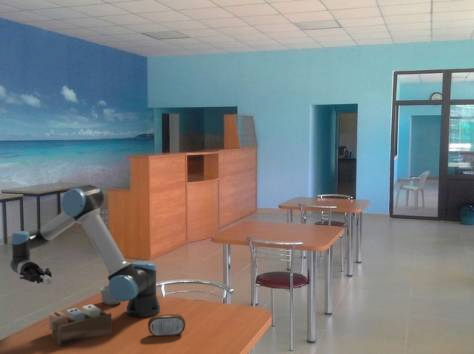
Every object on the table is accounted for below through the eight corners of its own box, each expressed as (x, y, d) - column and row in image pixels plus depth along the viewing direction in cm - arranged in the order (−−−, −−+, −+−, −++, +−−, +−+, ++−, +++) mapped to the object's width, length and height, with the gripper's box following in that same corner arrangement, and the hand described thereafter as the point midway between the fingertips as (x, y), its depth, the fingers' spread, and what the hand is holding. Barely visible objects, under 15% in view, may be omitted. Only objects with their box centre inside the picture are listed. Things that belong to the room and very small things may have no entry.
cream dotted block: (82, 320, 220) (81, 305, 219) (91, 317, 223) (91, 303, 222) (90, 325, 214) (90, 310, 213) (100, 322, 217) (100, 308, 216)
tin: (185, 332, 213) (185, 312, 212) (185, 335, 210) (185, 315, 209) (148, 334, 211) (147, 314, 210) (148, 337, 207) (147, 317, 207)
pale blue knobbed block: (66, 323, 215) (65, 309, 215) (76, 321, 218) (76, 306, 217) (74, 329, 209) (73, 314, 209) (84, 327, 212) (84, 312, 211)
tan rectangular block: (49, 328, 211) (49, 313, 210) (60, 325, 213) (59, 310, 213) (57, 333, 205) (56, 318, 204) (68, 331, 207) (67, 315, 207)
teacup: (118, 307, 242) (117, 291, 241) (96, 306, 244) (96, 289, 244) (130, 298, 256) (129, 282, 255) (109, 296, 258) (109, 281, 257)
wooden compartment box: (52, 338, 205) (51, 319, 205) (101, 326, 219) (100, 307, 218) (61, 346, 198) (61, 326, 198) (111, 332, 212) (111, 313, 211)
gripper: (44, 275, 237) (65, 287, 219) (12, 280, 228) (31, 293, 210) (44, 259, 236) (64, 269, 219) (12, 264, 227) (31, 275, 210)
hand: (48, 281), depth 214 cm, fingers closed
